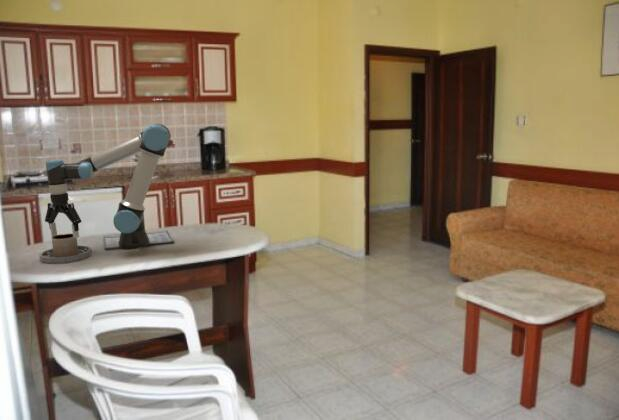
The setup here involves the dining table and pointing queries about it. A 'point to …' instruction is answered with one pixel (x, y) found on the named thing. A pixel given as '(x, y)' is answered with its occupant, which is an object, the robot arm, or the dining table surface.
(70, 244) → the planter
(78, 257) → the tray
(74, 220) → the robot arm
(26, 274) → the dining table surface
